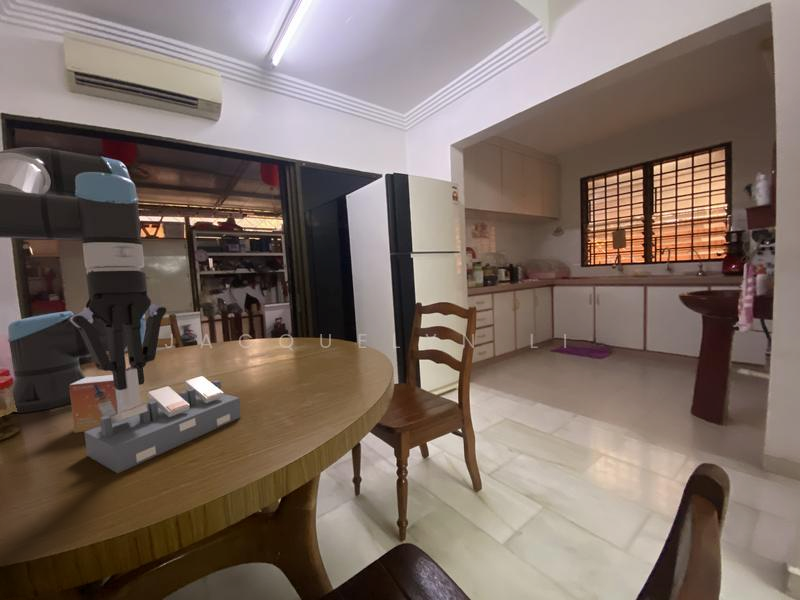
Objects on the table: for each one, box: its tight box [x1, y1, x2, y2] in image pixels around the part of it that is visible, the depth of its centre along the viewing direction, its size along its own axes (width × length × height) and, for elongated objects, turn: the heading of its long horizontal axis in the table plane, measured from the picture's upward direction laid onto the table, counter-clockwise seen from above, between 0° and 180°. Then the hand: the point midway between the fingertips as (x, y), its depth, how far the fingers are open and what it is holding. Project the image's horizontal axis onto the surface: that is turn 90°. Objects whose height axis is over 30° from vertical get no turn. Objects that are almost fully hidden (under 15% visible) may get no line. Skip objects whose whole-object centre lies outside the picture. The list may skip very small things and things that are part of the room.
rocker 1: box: [111, 405, 148, 424], centre depth 58 cm, size 8×4×1 cm, turn 61°
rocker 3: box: [184, 375, 224, 403], centre depth 70 cm, size 8×4×1 cm, turn 62°
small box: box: [69, 374, 131, 434], centre depth 70 cm, size 8×6×10 cm
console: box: [83, 380, 242, 474], centre depth 64 cm, size 12×22×8 cm, turn 152°
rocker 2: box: [147, 385, 190, 417], centre depth 64 cm, size 8×4×1 cm, turn 62°
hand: (132, 405), depth 56 cm, fingers closed
